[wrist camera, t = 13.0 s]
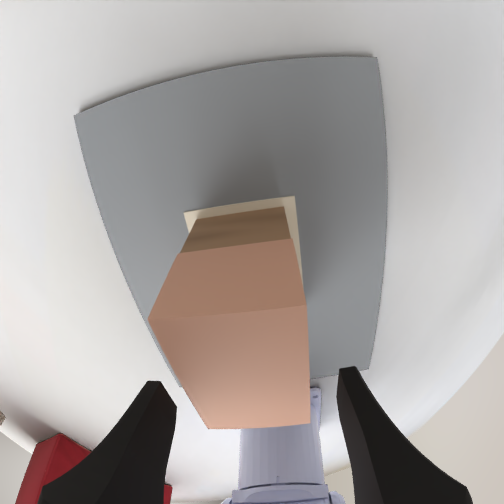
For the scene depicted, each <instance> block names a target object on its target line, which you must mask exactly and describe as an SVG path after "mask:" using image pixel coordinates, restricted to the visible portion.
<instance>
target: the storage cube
mask: <svg viewBox="0 0 504 504" xmlns="http://www.w3.org/2000/svg"><path fill="white" fill-rule="evenodd" d="M90 453H91V451H90V450H88V449H86V448H85V447H83V446H81V445H80V444H78V443H76V442H75V441H73V440H72V439H70V438H68V437H67V436H65V435H63V434H62V433H60V434H57V435H55V436H53V437H51V438H49V439H47V440H45V441H43V442H40V443H38V444H36V447H35V449H34V452H33V454H32V457H31V460H30V462H29V465H28V467H27V470H26V473H25V476H24V479H23V482H22V484H21V488H20V490H19V493H18V496H17V500H16V503H15V504H37V502H38V499H39V496H40V493H41V490H42V487H43V486H44V485H46V484H48V483H50V482H51V481H53V480H55V479H57V478H58V477H60V476H62V475H63V474H65V473H66V472H67V471H69V470H70V469H72V468H73V467H74V466H76V465H77V464H78V463H79V462H81V461H82V460H83V459H84V458H85V457H86V456H88V455H89V454H90ZM171 494H172V487H171V486H170V485H166V484H164V504H170V500H171Z"/></svg>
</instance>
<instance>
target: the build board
mask: <svg viewBox="0 0 504 504" xmlns="http://www.w3.org/2000/svg"><path fill="white" fill-rule="evenodd" d="M74 119H75V124H76V129H77V133H78V137H79V142H80V146H81V150H82V154H83V157H84V161H85V165H86V169H87V172H88V176H89V179H90V182H91V186H92V189H93V192H94V196H95V199H96V202H97V205H98V208H99V211H100V214H101V217H102V220H103V223H104V226H105V228H106V231H107V234H108V237H109V239H110V242H111V245H112V247H113V250H114V252H115V255H116V258H117V260H118V263H119V265H120V267H121V270H122V272H123V275H124V277H125V279H126V282H127V284H128V286H129V289H130V291H131V293H132V295H133V298H134V300H135V302H136V304H137V306H138V309H139V311H140V313H141V315H142V317H143V319H144V321H145V323H146V325H147V327H148V329H149V331H150V333H151V335H152V337H153V339H154V341H155V343H156V345H157V347H158V349H159V351H160V353H161V355H162V356H163V358H164V360H165V362H166V364H167V366H168V367H169V369H170V371H171V373H172V375H173V376H174V378H175V380H176V382H177V383H178V385H179V387H182V385H181V383H180V382H179V380H178V378H177V376H176V374H175V373H174V371H173V369H172V367H171V365H170V363H169V362H168V360H167V358H166V356H165V354H164V352H163V350H162V348H161V346H160V344H159V342H158V340H157V338H156V336H155V334H154V332H153V330H152V328H151V326H150V324H149V322H148V320H147V319H148V317H149V314H150V312H151V310H152V308H153V305H154V303H155V301H156V299H157V296H158V294H159V292H160V290H161V288H162V286H163V283H164V281H165V279H166V277H167V275H168V273H169V271H170V268H171V266H172V264H173V262H174V260H175V258H176V256H177V254H178V253H180V252H181V250H182V247H183V245H184V243H185V241H186V239H187V237H188V235H189V233H190V231H191V229H192V227H193V225H194V223H195V221H196V219H201V218H207V217H214V216H220V215H227V214H233V213H240V212H247V211H254V210H261V209H268V208H275V207H283V206H284V209H285V214H286V218H287V223H288V227H289V232H290V236H291V238H293V243H294V247H295V252H296V256H297V261H298V265H299V270H300V275H301V279H302V284H303V289H304V294H305V299H306V304H307V319H308V341H309V368H310V379H313V378H320V377H327V376H333V375H339V369H340V368H345V367H351V366H355V367H357V369H358V371H361V370H366V369H369V365H370V360H371V355H372V350H373V344H374V339H375V333H376V326H377V320H378V313H379V306H380V298H381V290H382V280H383V270H384V259H385V245H386V226H387V150H386V132H385V118H384V107H383V98H382V89H381V81H380V74H379V67H378V60H377V57H354V56H335V57H308V58H294V59H283V60H273V61H265V62H257V63H250V64H244V65H237V66H232V67H226V68H221V69H216V70H211V71H206V72H202V73H197V74H193V75H189V76H185V77H181V78H177V79H174V80H170V81H166V82H163V83H159V84H156V85H153V86H150V87H146V88H143V89H140V90H137V91H134V92H131V93H128V94H126V95H123V96H120V97H117V98H115V99H112V100H109V101H107V102H104V103H102V104H99V105H97V106H95V107H92V108H90V109H87V110H85V111H83V112H81V113H78V114H76V115H74Z"/></svg>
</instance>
